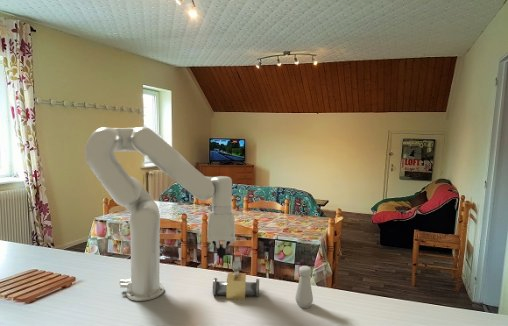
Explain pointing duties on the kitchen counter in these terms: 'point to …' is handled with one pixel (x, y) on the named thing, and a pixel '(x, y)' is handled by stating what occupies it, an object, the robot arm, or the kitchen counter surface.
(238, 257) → the valve lever
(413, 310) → the kitchen counter surface
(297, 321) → the kitchen counter surface
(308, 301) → the salt shaker
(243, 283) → the valve pipe
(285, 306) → the kitchen counter surface
